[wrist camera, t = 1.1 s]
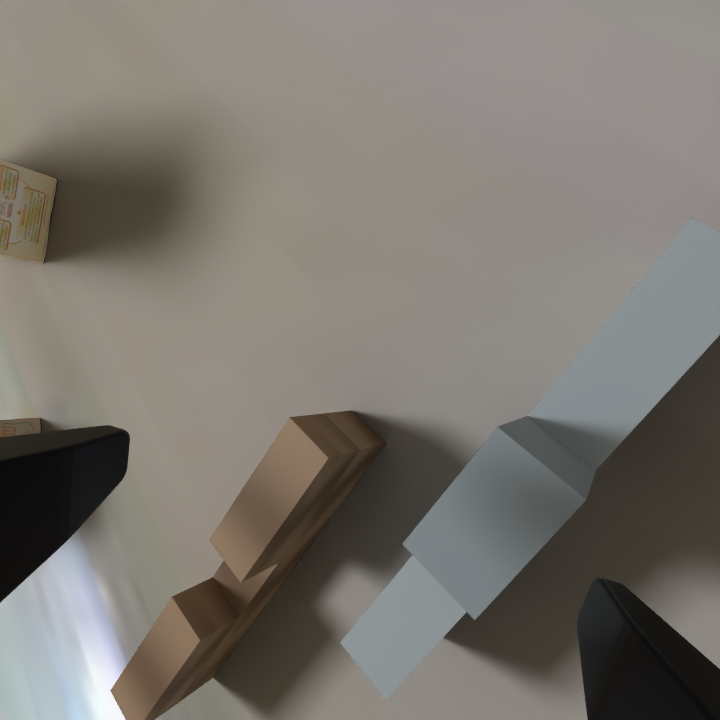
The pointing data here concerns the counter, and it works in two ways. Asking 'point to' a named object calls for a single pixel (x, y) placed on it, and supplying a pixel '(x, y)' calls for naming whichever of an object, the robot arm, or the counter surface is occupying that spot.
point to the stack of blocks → (19, 427)
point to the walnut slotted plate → (249, 558)
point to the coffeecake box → (24, 212)
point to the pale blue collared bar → (542, 462)
